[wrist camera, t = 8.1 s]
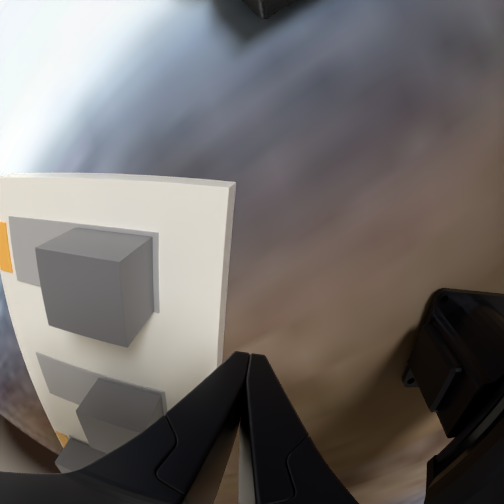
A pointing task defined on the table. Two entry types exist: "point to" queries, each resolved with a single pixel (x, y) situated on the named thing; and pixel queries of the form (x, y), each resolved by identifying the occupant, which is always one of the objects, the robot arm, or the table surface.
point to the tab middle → (116, 414)
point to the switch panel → (164, 283)
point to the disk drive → (267, 6)
